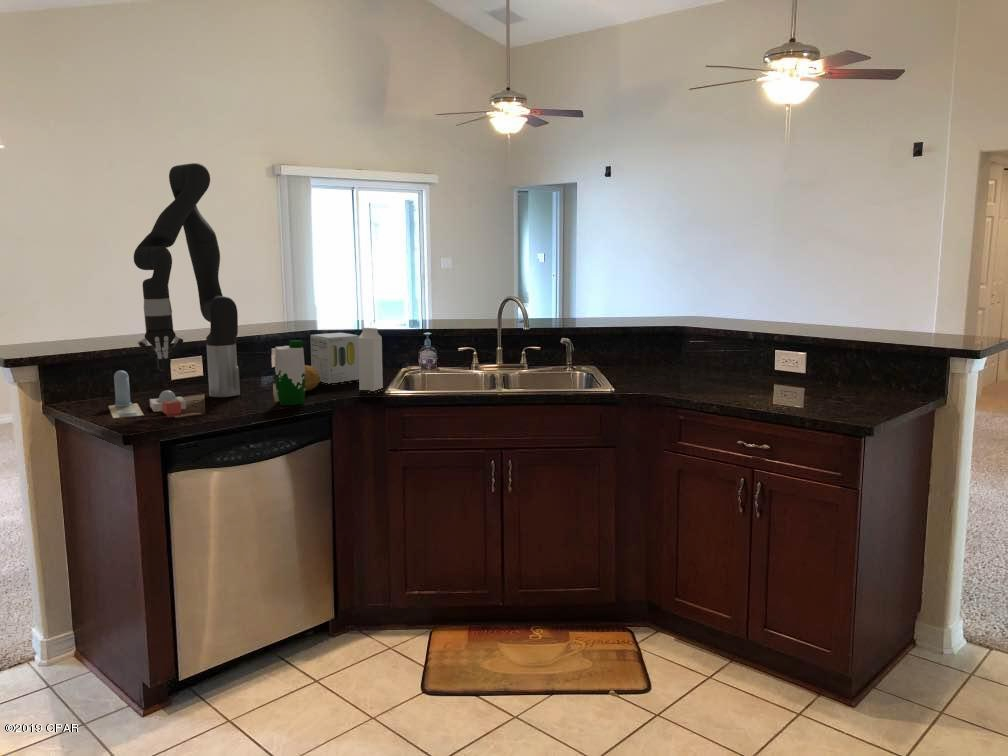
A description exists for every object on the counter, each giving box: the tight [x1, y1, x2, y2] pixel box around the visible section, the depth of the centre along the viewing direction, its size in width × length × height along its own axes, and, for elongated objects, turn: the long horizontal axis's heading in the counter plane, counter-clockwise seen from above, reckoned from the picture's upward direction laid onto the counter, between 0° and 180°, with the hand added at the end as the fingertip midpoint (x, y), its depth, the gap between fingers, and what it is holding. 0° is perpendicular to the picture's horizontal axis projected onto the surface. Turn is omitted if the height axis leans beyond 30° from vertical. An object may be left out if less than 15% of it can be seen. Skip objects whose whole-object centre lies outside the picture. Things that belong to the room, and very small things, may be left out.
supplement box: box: [310, 332, 359, 384], centre depth 284 cm, size 13×13×18 cm
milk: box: [358, 327, 384, 391], centre depth 264 cm, size 6×6×22 cm
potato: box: [305, 364, 320, 392], centre depth 263 cm, size 10×13×9 cm
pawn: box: [113, 370, 133, 407], centre depth 232 cm, size 5×5×11 cm
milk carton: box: [274, 339, 306, 406], centre depth 242 cm, size 9×9×20 cm
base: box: [149, 396, 187, 413], centre depth 231 cm, size 9×9×3 cm
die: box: [162, 400, 182, 418], centre depth 224 cm, size 4×4×4 cm
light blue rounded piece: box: [157, 389, 177, 403], centre depth 231 cm, size 5×5×6 cm
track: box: [108, 403, 145, 421], centre depth 227 cm, size 8×20×1 cm, turn 31°
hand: (163, 370), depth 231 cm, fingers closed
